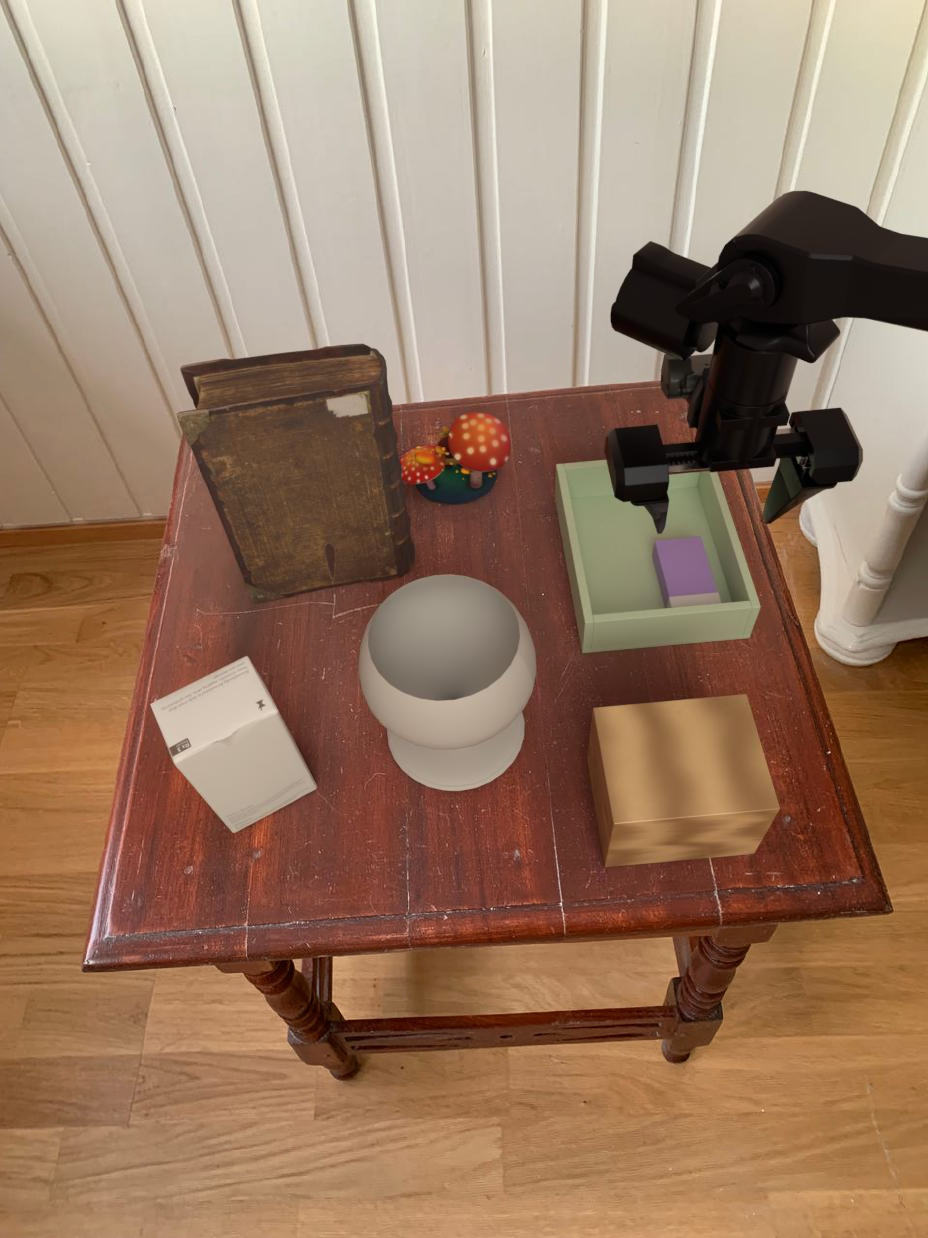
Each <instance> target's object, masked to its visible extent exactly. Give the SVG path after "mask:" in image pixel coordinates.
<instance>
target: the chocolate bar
mask: <svg viewBox="0 0 928 1238" xmlns="http://www.w3.org/2000/svg"><path fill="white" fill-rule="evenodd" d="M652 558H653V562H654V566H655V570H656V574H657V578H658V582H659V586H660V590H661V594H662V597H663V601H664V605H665V608H675V607H686V606H697V605H707V604H718V603H722V602H721V599H720V596H719V593H718V592H717V589H716V585H715V582H714V579H713V575H712V572H711V569H710V565H709V562H708V559H707V555H706V552H705V549H704V545H703V542H702V539H701V536H698V537H687V538H676V539H666V540H655V542H654V547H653V553H652Z"/></svg>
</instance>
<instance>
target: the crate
mask: <svg viewBox="0 0 928 1238" xmlns="http://www.w3.org/2000/svg"><path fill="white" fill-rule="evenodd" d="M586 763H587V770H588V775H589V782H590V787H591V793H592V800H593V805H594V811H595V812H594V813H595V818H596V824H597V831H598V835H599V841H600V847H601V853H602V860H603V866H604V867H605V868H612V867H613V868H614V867H624V866H634V865H643V864H644V865H645V864H657V863H668V862H669V863H670V862H679V861H691V860H701V859H711V858H713V859H714V858H723V857H724V858H725V857H735V856H745V855H754V854H755V853H756V851H757V850H758V848H759V847H760V844H761V843H762V841H763V839H764V838H765V836H766V835H767V832H768V830H769V829H770V827H771V825H772V824H773V822H774V821H775V819H776V817H777V815H778V814H779V812H780V810H781V807H780V803H779V800H778V797H777V793H776V790H775V787H774V783H773V779H772V776H771V773H770V770H769V766H768V763H767V760H766V756H765V752H764V749H763V746H762V743H761V739H760V735H759V732H758V728H757V725H756V722H755V719H754V714H753V711H752V708H751V704H750V701H749V697H748V694H747V693H742V694H731V695H730V694H729V695H719V696H710V697H709V696H708V697H698V698H686V699H674V700H665V701H653V702H643V703H630V704H620V705H619V704H618V705H609V706H599V707H593V708H592V714H591V722H590V731H589V738H588V746H587V755H586Z"/></svg>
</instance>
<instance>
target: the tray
mask: <svg viewBox="0 0 928 1238" xmlns="http://www.w3.org/2000/svg"><path fill="white" fill-rule="evenodd" d="M554 483H555V485H554V502H555V507H556V514H557V519H558V524H559V530H560V536H561V542H562V547H563V553H564V558H565V564H566V569H567V575H568V582H569V587H570V592H571V598H572V604H573V610H574V614H575V622H576V628H577V633H578V638H579V643H580V650H581V653H582V654H590V653H601V652H611V651H613V652H614V651H622V650H624V651H625V650H635V649H644V648H645V649H647V648H655V647H657V648H658V647H667V646H677V645H688V644H701V643H710V642H722V641H732V640H733V641H734V640H742V639H743V640H744V639H745V640H746V639H750V638H751V636H752V632H753V629H754V627H755V624H756V622H757V619H758V616H759V613H760V610H761V607H762V606H761V603H760V599H759V597H758V594H757V590H756V587H755V584H754V581H753V577H752V575H751V571H750V569H749V565H748V563H747V558H746V556H745V554H744V550H743V547H742V544H741V541H740V538H739V535H738V532H737V529H736V525H735V523H734V519H733V516H732V514H731V511H730V507H729V504H728V501H727V497H726V495H725V492H724V489H723V486H722V483H721V479H720V477H719V472H711V473H710V471H704V472H693V473H682V474H671V475H669V487H668V491H667V493H668V497H669V506H668V512H667V519H666V525H665V528H664V530H663V532H662V534H657V531H656V528H655V525H654V522H653V518H652V516H651V515H650V514H649V512H648V511H647V510H646V508H645V507H644V506H634V505H632V504H631V502H622V501H620V500H618V499H617V498H615V496H614V492H613V488H612V483H611V479H610V474H609V470H608V465H607V461H606V459H599V460H597V459H596V460H588V461H576V462H565V463H556V464H555V480H554ZM698 536H701V539H702V542H703V545H704V549H705V552H706V555H707V559H708V562H709V565H710V569H711V572H712V575H713V579H714V582H715V585H716V589H717V592H718V593H719V596H720V599H721V602H722V603H718V604H707V605H697V606H686V607H675V608H665V605H664V601H663V597H662V594H661V590H660V586H659V582H658V578H657V574H656V570H655V566H654V562H653V558H652V553H653V547H654V542H655V540H666V539H676V538H687V537H698Z"/></svg>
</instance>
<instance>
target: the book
mask: <svg viewBox="0 0 928 1238" xmlns="http://www.w3.org/2000/svg"><path fill="white" fill-rule="evenodd" d="M179 371H180V373H181V376H182V379H183V381H184V384H185V387H186V389H187V391H188V395H189V396H190V398H191V400H192V403H193V405H194V408H195V409H189V410H184V411H179V412H177V413H176V417H177V422H178V424H179V427H180V429H181V432H182V434H183V436H184V438H185V440H186V443H187V445H188V447H190V449H191V452H192V454H193V456H194V458H195V461H196V463H197V466H198V467H197V468H198V469H199V472H200V475H201V477H202V479H203V481H204V483H205V485H206V488H207V490H208V492H209V496H210V497H211V501H212V502H213V505H214V508H215V510H216V512H217V515H218V517H219V520H220V522H221V525H222V527H223V530H224V532H225V535H226V538H227V541H228V543H229V545H230V547H231V551H232V552H233V556H234V559H235V562H236V564H237V567H238V568H239V571H240V572H241V575H242V578H243V582H244V585H245V588H246V591H247V593H248V595H249V598H250V600H251V603H259V602H268V601H273V600H274V601H275V600H279V599H285V598H289V597H294V596H297V595H302V594H306V593H310V592H314V591H319V590H323V589H330V588H336V587H340V586H346V585H353V584H359V583H377V582H383V581H389V580H394V579H397V578H401V577H402V576H404V575H405V574H406V573H409V571H411V570H412V568H413V567H414V566H413V565H414V562H415V557H416V556H415V555H416V548H415V547H416V546H415V544H414V541H413V539H412V535H411V517H410V515H409V511H408V510H407V509H408V508H407V493H406V489H405V487H404V482H403V481H402V464H401V462H400V459H401V458H400V456H399V450H398V440H399V438H398V433H397V429H396V427H395V426H394V419H393V413H394V411H393V401H392V398H391V396H390V393H389V384H388V367H387V361H386V359H385V356H384V355H383V354H382V353H381V352H380V351H379V350H378V349H377V348H375V347H371V346H369V345H367V344H365V343H350V344H338V345H337V344H336V345H330V346H328V345H327V346H323V347H320V348H313V349H305V350H295V351H286V352H279V353H270V354H263V355H255V356H247V357H240V358H217V359H211V360H205V361H199V362H192V363H189V364H183V365H181V366H180V368H179Z"/></svg>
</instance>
